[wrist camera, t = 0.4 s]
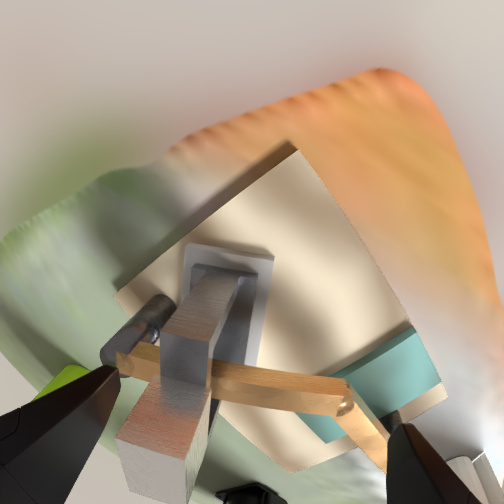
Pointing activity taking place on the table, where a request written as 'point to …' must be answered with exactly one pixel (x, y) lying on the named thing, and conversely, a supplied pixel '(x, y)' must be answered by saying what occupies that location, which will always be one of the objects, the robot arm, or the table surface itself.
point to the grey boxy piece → (186, 385)
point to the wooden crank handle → (254, 382)
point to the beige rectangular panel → (302, 309)
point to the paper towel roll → (478, 478)
